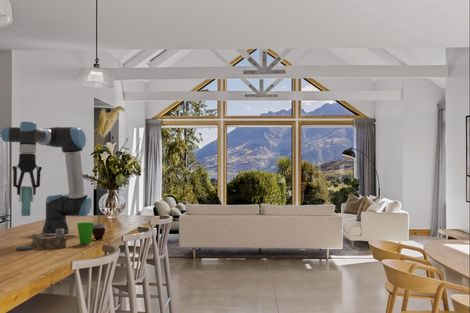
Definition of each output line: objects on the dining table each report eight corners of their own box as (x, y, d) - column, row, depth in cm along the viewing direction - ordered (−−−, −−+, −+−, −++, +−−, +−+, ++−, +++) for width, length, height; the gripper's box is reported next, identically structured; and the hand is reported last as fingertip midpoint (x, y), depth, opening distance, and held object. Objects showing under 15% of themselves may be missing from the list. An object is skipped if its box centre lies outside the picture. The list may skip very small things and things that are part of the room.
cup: (97, 243, 286) (98, 222, 286) (87, 245, 277) (88, 224, 277) (83, 242, 289) (83, 221, 289) (72, 244, 280) (73, 223, 280)
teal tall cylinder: (29, 214, 265) (30, 186, 265) (31, 215, 261) (32, 186, 261) (19, 215, 263) (20, 186, 263) (21, 216, 259) (22, 186, 259)
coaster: (30, 248, 266) (30, 246, 266) (33, 250, 260) (33, 248, 260) (14, 249, 262) (14, 247, 262) (17, 251, 256) (17, 249, 256)
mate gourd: (98, 238, 307) (99, 211, 307) (108, 239, 303) (109, 212, 303) (88, 239, 301) (89, 212, 301) (99, 240, 297) (99, 213, 297)
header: (56, 242, 287) (56, 225, 287) (65, 247, 270) (66, 229, 270) (32, 243, 280) (32, 226, 281) (40, 249, 263) (41, 230, 264)
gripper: (44, 154, 270) (43, 201, 270) (6, 153, 261) (5, 201, 260) (48, 154, 264) (46, 201, 263) (9, 152, 255) (8, 202, 254)
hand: (26, 201), depth 262 cm, fingers closed on teal tall cylinder, 5 cm apart
